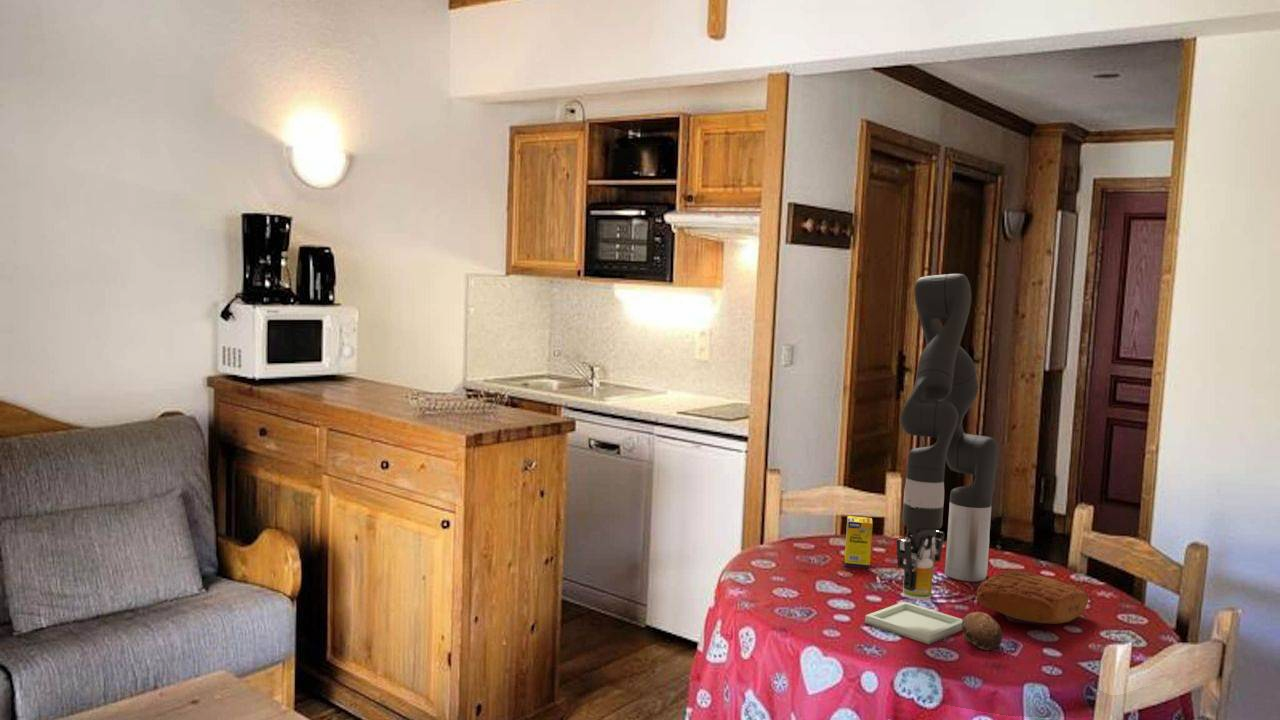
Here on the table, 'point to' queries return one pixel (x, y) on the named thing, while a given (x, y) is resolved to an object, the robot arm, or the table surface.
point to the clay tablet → (1032, 597)
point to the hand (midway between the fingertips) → (917, 586)
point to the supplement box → (858, 542)
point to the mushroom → (981, 630)
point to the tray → (915, 622)
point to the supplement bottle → (922, 578)
